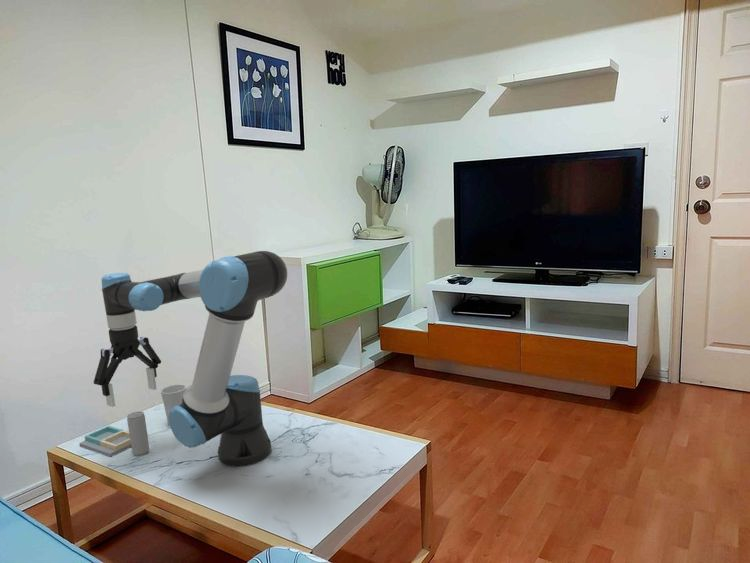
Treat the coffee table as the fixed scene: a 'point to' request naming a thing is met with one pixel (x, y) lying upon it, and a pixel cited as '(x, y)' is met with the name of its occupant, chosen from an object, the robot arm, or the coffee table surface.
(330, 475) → the coffee table surface
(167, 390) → the cup
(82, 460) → the coffee table surface
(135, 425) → the beverage can
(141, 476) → the coffee table surface
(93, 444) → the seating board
